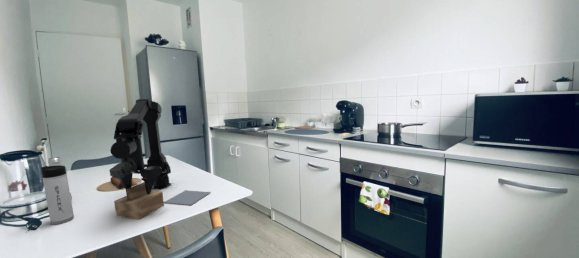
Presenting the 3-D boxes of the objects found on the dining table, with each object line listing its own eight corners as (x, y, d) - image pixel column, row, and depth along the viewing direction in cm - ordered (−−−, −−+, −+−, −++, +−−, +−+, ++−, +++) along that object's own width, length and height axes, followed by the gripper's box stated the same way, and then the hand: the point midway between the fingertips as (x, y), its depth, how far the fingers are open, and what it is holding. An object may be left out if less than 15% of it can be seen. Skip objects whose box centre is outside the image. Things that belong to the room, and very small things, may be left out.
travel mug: (59, 217, 94) (50, 164, 91) (78, 215, 94) (69, 163, 92) (44, 225, 88) (34, 169, 85) (65, 223, 88) (55, 167, 86)
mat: (163, 203, 102) (163, 202, 102) (185, 191, 114) (185, 190, 114) (191, 205, 98) (191, 204, 98) (210, 192, 110) (210, 192, 110)
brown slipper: (139, 184, 127) (129, 174, 124) (126, 195, 123) (116, 185, 120) (128, 177, 139) (120, 169, 136) (116, 187, 136) (107, 178, 132)
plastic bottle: (76, 202, 107) (69, 156, 105) (57, 209, 101) (49, 160, 98) (66, 201, 109) (58, 155, 107) (47, 208, 103) (38, 159, 100)
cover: (116, 216, 92) (112, 190, 91) (141, 203, 103) (138, 180, 101) (140, 219, 89) (136, 192, 88) (164, 205, 99) (161, 181, 98)
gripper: (92, 157, 88) (98, 200, 90) (134, 158, 83) (140, 204, 85) (121, 150, 98) (126, 189, 100) (160, 150, 93) (165, 191, 95)
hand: (138, 193), depth 95 cm, fingers open, 9 cm apart
